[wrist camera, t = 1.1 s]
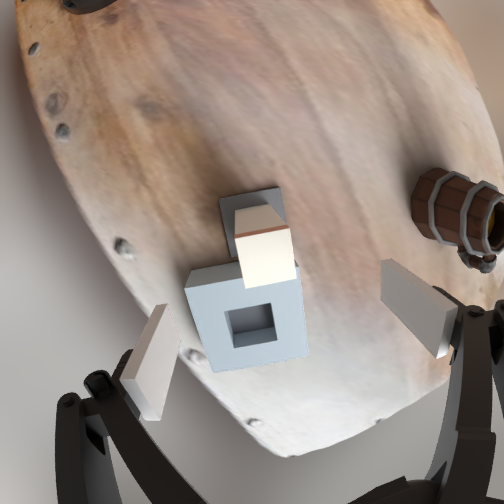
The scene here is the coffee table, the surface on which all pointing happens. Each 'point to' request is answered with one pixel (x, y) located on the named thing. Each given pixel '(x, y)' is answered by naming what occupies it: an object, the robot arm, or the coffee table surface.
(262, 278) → the peg
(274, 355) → the socket block
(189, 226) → the coffee table surface
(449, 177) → the mug
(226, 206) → the mat
